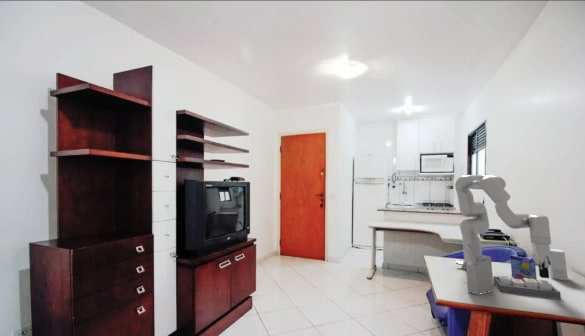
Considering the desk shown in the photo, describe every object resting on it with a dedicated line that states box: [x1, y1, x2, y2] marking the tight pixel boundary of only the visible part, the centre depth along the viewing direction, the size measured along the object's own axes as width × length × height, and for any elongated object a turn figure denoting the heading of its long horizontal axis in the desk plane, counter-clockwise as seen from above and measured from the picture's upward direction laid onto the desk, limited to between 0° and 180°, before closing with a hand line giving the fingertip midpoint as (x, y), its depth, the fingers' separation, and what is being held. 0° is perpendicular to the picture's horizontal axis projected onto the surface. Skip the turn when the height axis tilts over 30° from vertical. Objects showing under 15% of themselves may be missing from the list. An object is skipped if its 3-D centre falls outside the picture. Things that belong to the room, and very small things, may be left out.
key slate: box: [498, 275, 511, 285], centre depth 138 cm, size 4×5×3 cm
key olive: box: [523, 278, 538, 288], centre depth 133 cm, size 4×5×3 cm
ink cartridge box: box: [509, 251, 538, 281], centre depth 150 cm, size 10×6×14 cm, turn 29°
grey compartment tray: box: [492, 275, 562, 300], centre depth 134 cm, size 23×14×3 cm, turn 63°
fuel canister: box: [465, 244, 494, 295], centre depth 134 cm, size 15×5×25 cm, turn 113°
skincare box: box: [549, 248, 569, 282], centre depth 149 cm, size 8×7×16 cm
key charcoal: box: [535, 278, 553, 290], centre depth 131 cm, size 4×5×3 cm
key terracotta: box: [511, 278, 525, 287], centre depth 136 cm, size 4×5×3 cm
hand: (544, 277), depth 131 cm, fingers closed
